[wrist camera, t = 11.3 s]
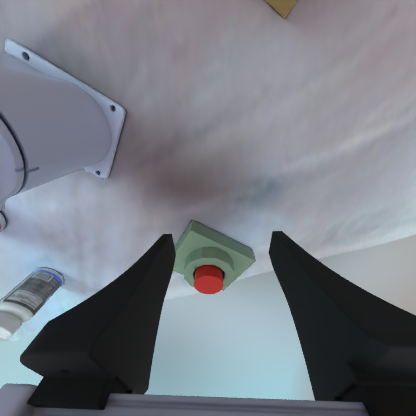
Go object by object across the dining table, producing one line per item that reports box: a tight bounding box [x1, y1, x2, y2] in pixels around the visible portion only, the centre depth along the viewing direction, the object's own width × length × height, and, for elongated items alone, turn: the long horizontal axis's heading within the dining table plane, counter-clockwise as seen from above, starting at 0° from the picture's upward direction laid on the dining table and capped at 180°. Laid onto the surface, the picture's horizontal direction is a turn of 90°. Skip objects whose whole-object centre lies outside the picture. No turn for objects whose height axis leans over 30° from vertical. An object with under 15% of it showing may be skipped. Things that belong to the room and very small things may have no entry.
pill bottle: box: [0, 268, 64, 338], centre depth 24 cm, size 5×5×8 cm
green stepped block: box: [173, 220, 256, 290], centre depth 22 cm, size 10×8×4 cm
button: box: [194, 265, 223, 294], centre depth 20 cm, size 4×4×2 cm
